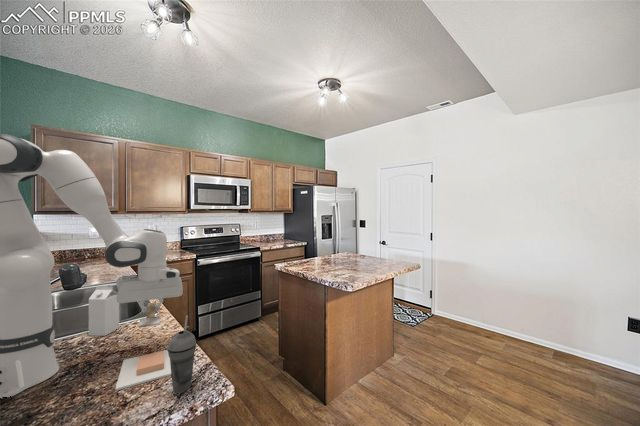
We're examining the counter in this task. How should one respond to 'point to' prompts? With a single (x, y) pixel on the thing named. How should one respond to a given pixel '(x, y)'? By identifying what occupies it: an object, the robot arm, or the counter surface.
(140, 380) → the mat
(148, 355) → the tile
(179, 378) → the beverage cup
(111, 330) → the milk carton
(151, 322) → the turner
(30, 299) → the robot arm
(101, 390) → the counter surface
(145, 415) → the counter surface
